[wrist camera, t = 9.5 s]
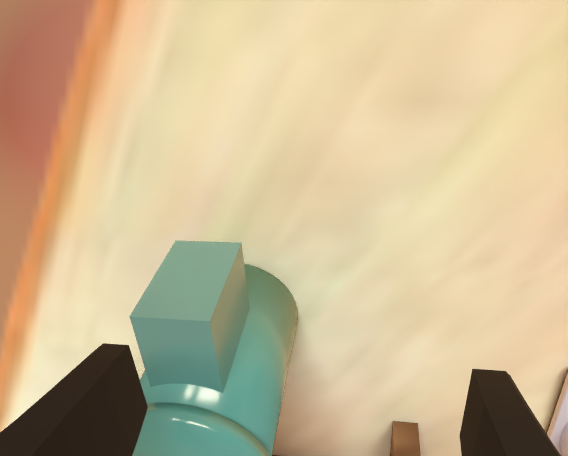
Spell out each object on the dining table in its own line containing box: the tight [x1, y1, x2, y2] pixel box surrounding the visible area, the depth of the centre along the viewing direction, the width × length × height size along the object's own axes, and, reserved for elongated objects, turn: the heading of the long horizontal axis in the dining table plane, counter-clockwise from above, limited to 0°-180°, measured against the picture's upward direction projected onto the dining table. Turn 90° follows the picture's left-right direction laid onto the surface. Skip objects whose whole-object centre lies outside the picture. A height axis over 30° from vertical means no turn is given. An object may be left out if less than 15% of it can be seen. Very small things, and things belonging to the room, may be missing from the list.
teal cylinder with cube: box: [130, 241, 298, 456], centre depth 18 cm, size 6×8×8 cm
